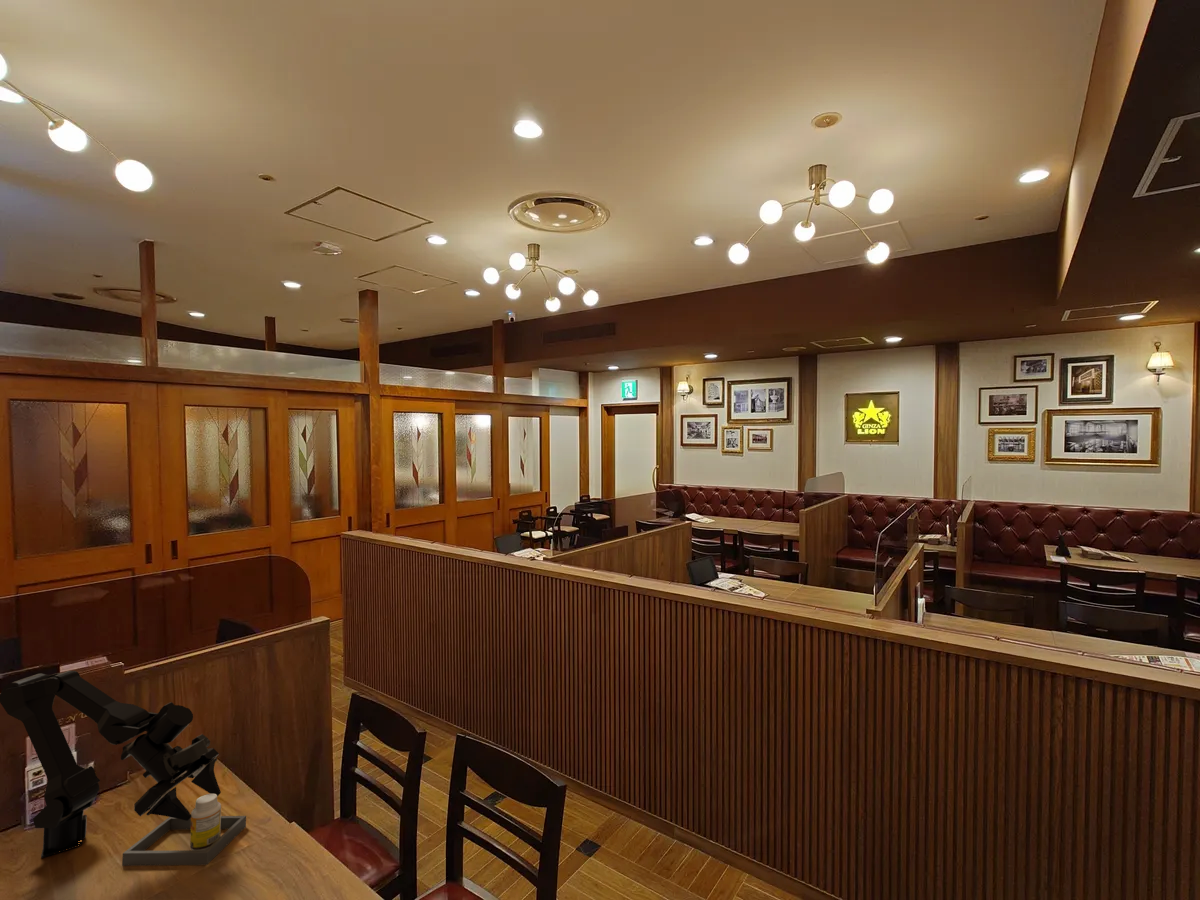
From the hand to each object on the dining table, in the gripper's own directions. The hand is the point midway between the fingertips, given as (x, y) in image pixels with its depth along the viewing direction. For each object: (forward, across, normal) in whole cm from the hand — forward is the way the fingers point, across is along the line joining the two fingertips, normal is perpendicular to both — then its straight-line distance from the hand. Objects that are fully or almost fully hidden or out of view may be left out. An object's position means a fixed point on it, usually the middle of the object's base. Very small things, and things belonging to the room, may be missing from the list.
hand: (204, 806), depth 125 cm
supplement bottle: (+6, 0, +6) cm, 9 cm away
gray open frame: (+3, 0, +9) cm, 9 cm away
